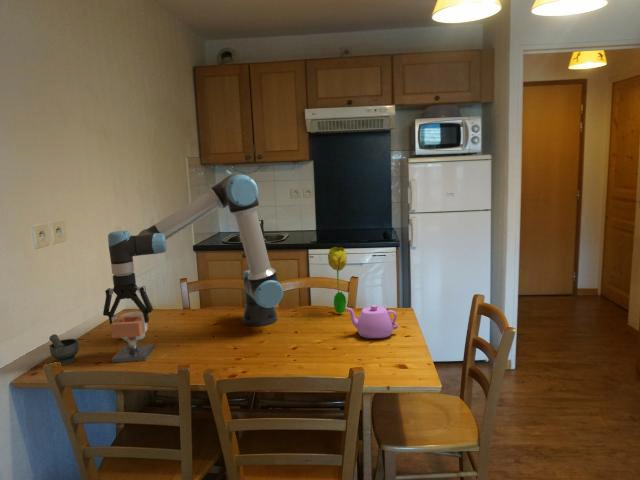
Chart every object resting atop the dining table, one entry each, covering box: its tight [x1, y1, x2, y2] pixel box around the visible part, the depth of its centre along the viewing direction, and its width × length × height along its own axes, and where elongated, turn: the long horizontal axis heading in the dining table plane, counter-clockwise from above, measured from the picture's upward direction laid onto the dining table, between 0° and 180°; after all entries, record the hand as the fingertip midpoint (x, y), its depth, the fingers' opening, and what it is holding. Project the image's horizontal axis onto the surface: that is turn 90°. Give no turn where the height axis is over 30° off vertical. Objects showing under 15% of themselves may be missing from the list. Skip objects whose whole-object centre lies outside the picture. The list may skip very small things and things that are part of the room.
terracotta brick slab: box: [110, 315, 149, 339], centre depth 179 cm, size 10×10×5 cm
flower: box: [327, 246, 348, 315], centre depth 211 cm, size 9×8×30 cm
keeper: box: [110, 337, 156, 364], centre depth 180 cm, size 12×12×8 cm
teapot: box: [345, 304, 399, 340], centre depth 186 cm, size 20×13×12 cm, turn 84°
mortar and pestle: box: [48, 333, 80, 366], centre depth 177 cm, size 11×9×12 cm
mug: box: [120, 311, 146, 343], centre depth 196 cm, size 12×8×10 cm
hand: (130, 331), depth 179 cm, fingers closed on terracotta brick slab, 10 cm apart
